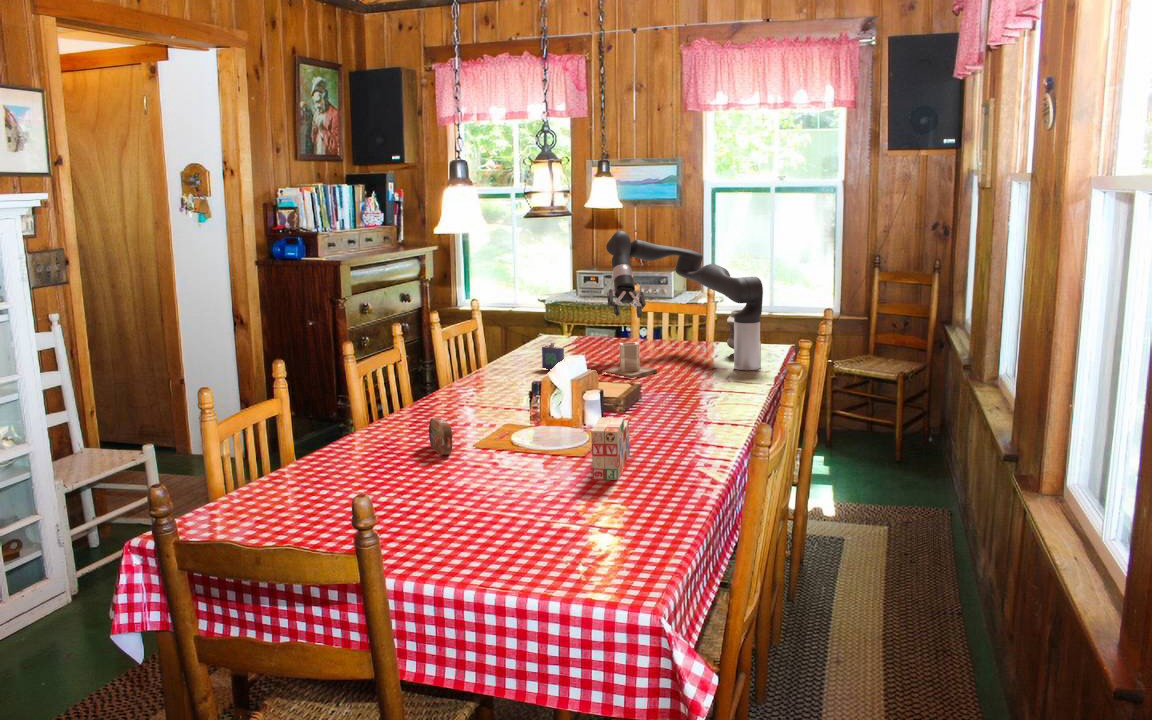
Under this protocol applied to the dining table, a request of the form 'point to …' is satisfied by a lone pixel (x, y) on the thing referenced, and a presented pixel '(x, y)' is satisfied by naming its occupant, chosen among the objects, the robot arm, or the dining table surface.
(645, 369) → the post base
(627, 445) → the stack of blocks
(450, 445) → the tin
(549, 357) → the flask
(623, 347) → the tan upright block
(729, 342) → the apothecary jar
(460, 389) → the dining table surface
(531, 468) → the dining table surface
